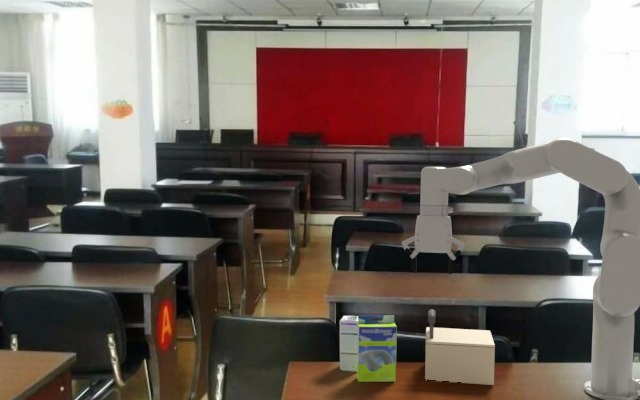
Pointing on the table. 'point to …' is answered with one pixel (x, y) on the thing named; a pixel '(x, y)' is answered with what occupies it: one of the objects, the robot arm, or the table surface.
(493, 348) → the cream hinged door cabinet
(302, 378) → the table surface
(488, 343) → the cream panel with handle
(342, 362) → the syrup box
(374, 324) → the box
